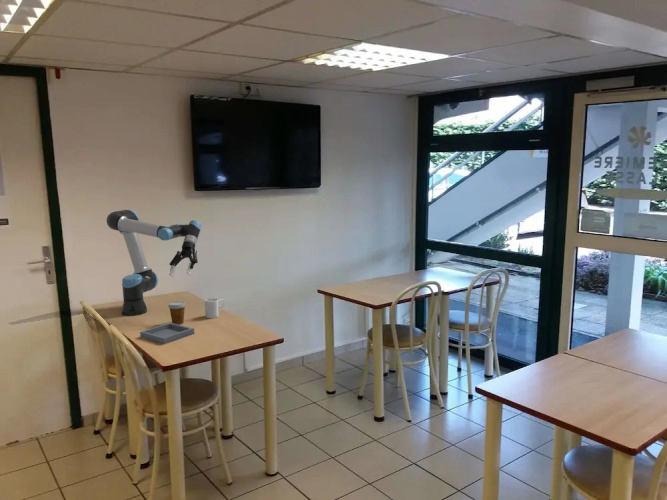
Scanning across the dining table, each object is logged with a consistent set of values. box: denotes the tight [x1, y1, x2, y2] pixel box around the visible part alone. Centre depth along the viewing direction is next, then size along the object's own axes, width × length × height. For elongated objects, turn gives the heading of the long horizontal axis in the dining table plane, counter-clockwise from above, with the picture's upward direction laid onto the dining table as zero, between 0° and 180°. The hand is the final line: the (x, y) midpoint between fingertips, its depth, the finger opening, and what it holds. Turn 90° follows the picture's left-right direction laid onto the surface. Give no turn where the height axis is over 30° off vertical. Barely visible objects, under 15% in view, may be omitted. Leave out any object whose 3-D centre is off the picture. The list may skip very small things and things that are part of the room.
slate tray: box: [139, 322, 195, 345], centre depth 289 cm, size 20×20×3 cm
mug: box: [204, 297, 226, 319], centre depth 324 cm, size 12×8×10 cm, turn 125°
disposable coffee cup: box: [167, 300, 186, 325], centre depth 310 cm, size 10×10×12 cm
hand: (179, 274), depth 313 cm, fingers open, 13 cm apart
